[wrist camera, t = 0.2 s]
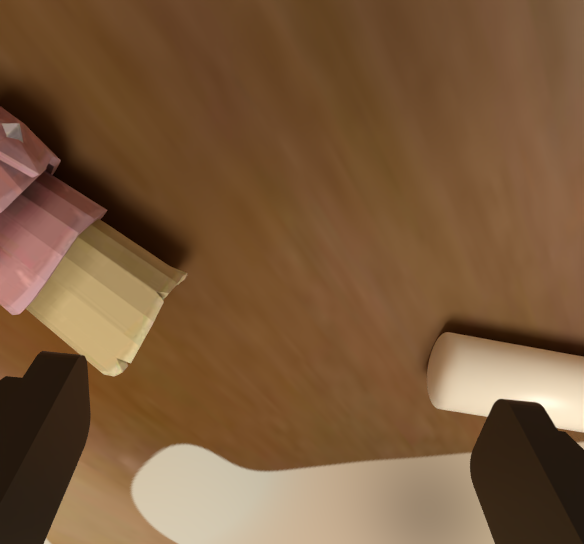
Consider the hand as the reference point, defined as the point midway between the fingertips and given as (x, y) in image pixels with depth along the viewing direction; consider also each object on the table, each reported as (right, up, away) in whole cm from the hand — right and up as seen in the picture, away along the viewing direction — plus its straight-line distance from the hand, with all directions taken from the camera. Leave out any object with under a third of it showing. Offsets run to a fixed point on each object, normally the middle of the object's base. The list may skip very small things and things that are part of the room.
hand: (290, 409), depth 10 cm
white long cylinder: (+17, -3, +22) cm, 28 cm away
